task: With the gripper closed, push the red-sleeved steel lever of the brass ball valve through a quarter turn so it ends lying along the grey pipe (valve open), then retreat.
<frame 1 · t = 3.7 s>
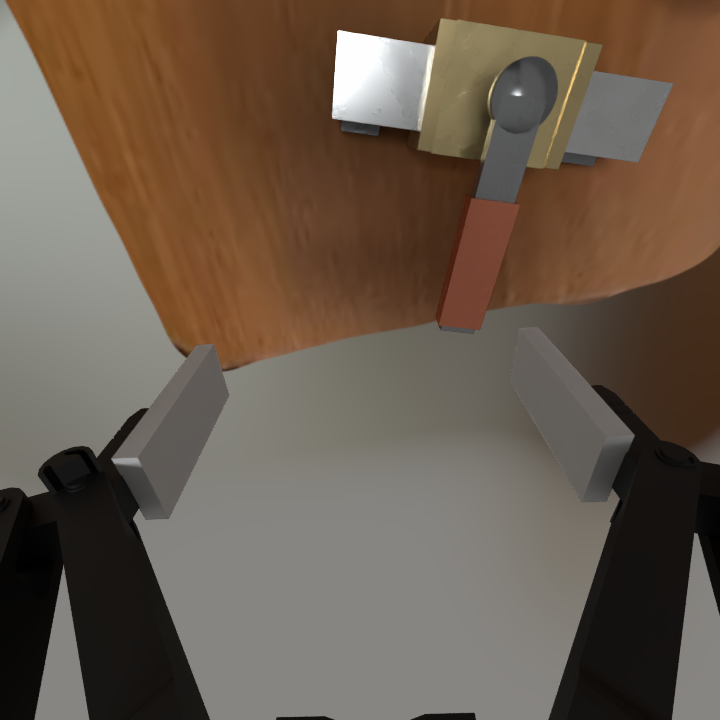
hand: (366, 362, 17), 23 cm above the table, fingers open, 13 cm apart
valve pipe: (473, 105, 31), on the table
lever: (487, 217, 25), point 11 cm above the table, hinge at 0.0°
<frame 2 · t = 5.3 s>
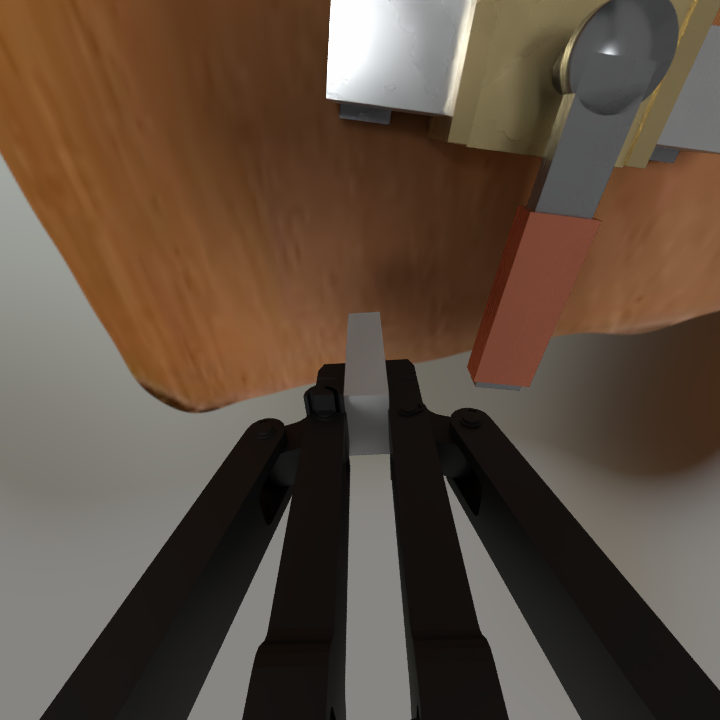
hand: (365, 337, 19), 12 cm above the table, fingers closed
valve pipe: (515, 83, 23), on the table
lever: (549, 237, 18), point 11 cm above the table, hinge at 0.0°
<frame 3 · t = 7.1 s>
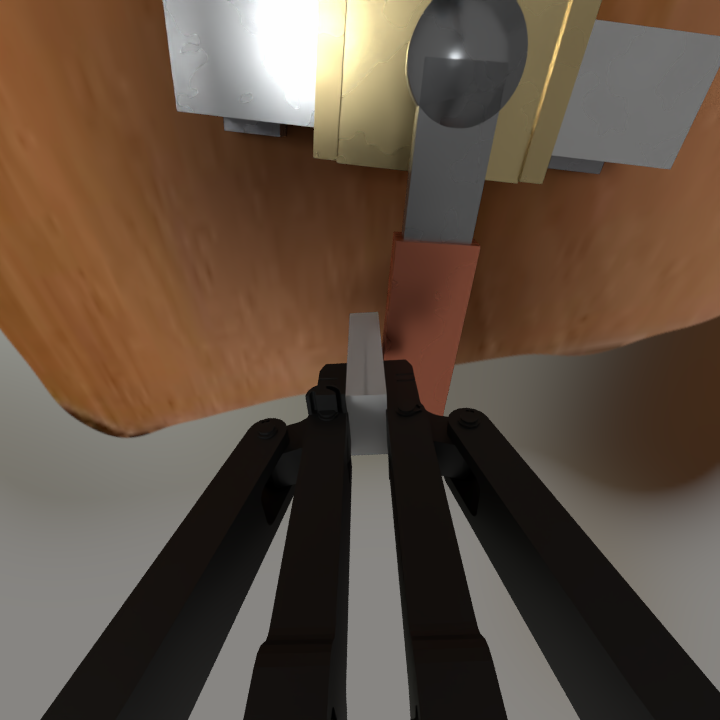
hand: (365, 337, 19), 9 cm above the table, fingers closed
valve pipe: (421, 89, 21), on the table
lever: (431, 266, 15), point 11 cm above the table, hinge at 2.5°, touching gripper
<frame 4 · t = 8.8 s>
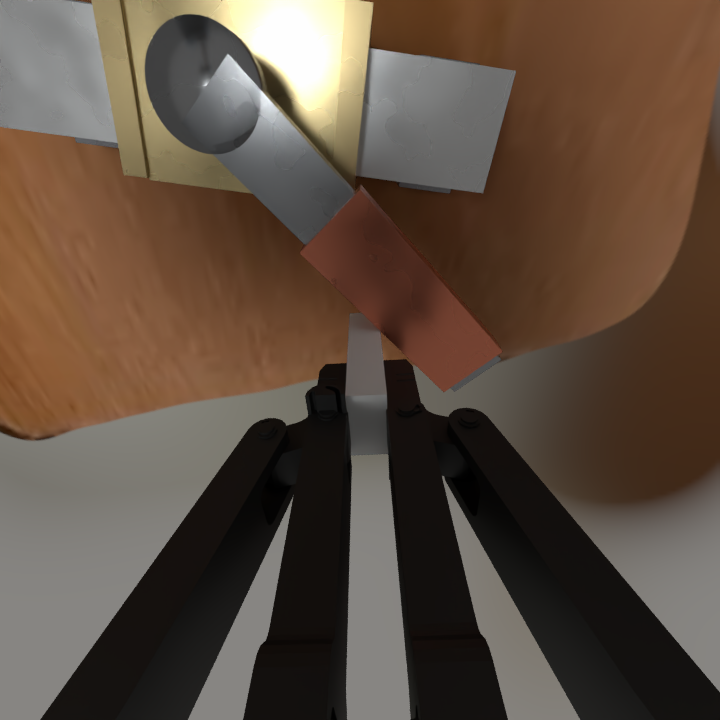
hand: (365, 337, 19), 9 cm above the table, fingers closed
valve pipe: (275, 106, 22), on the table
lever: (350, 239, 15), point 11 cm above the table, hinge at 50.8°, touching gripper
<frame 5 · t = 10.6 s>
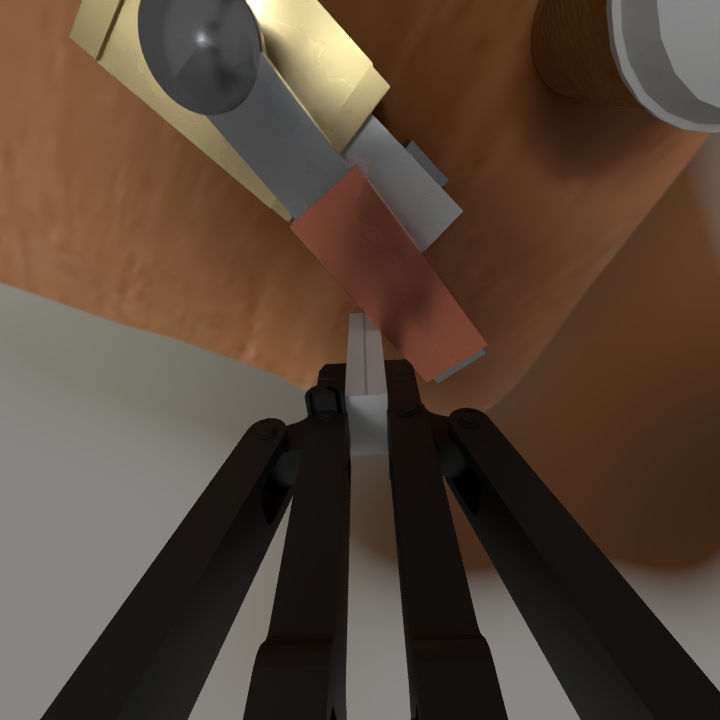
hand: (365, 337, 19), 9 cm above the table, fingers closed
valve pipe: (274, 83, 21), on the table
disposable coffee cup: (591, 24, 20), on the table
lever: (342, 218, 14), point 11 cm above the table, hinge at 80.7°, touching gripper
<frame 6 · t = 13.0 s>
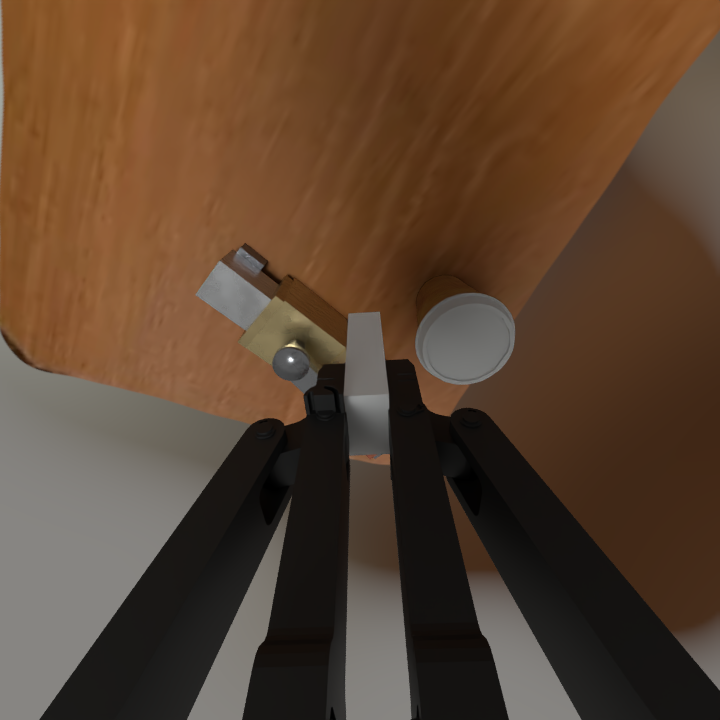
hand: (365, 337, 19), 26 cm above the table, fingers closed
valve pipe: (303, 319, 47), on the table
disposable coffee cup: (441, 299, 46), on the table
lever: (335, 404, 40), point 11 cm above the table, hinge at 80.8°
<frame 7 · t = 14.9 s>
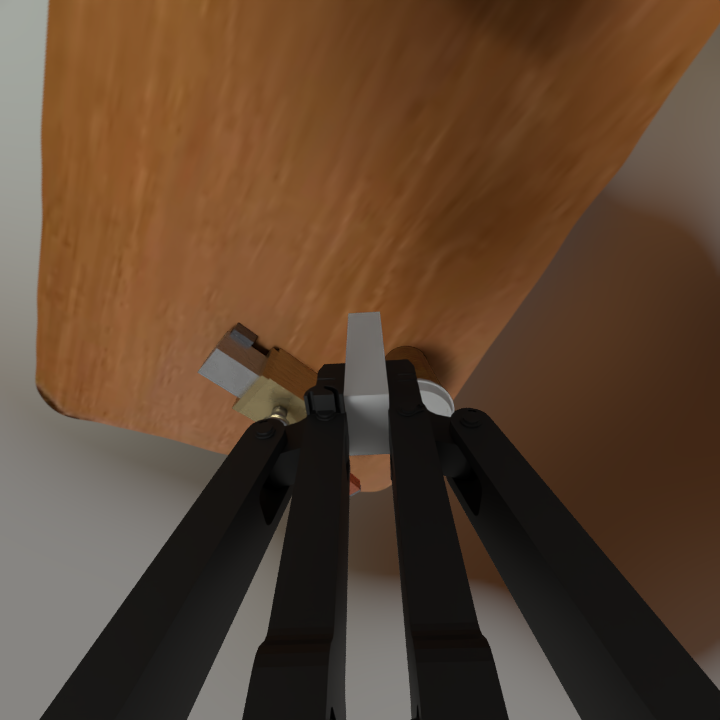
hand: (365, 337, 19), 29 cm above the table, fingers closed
valve pipe: (288, 379, 55), on the table
disposable coffee cup: (404, 364, 54), on the table
lever: (311, 458, 49), point 11 cm above the table, hinge at 80.8°
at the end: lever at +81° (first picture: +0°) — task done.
